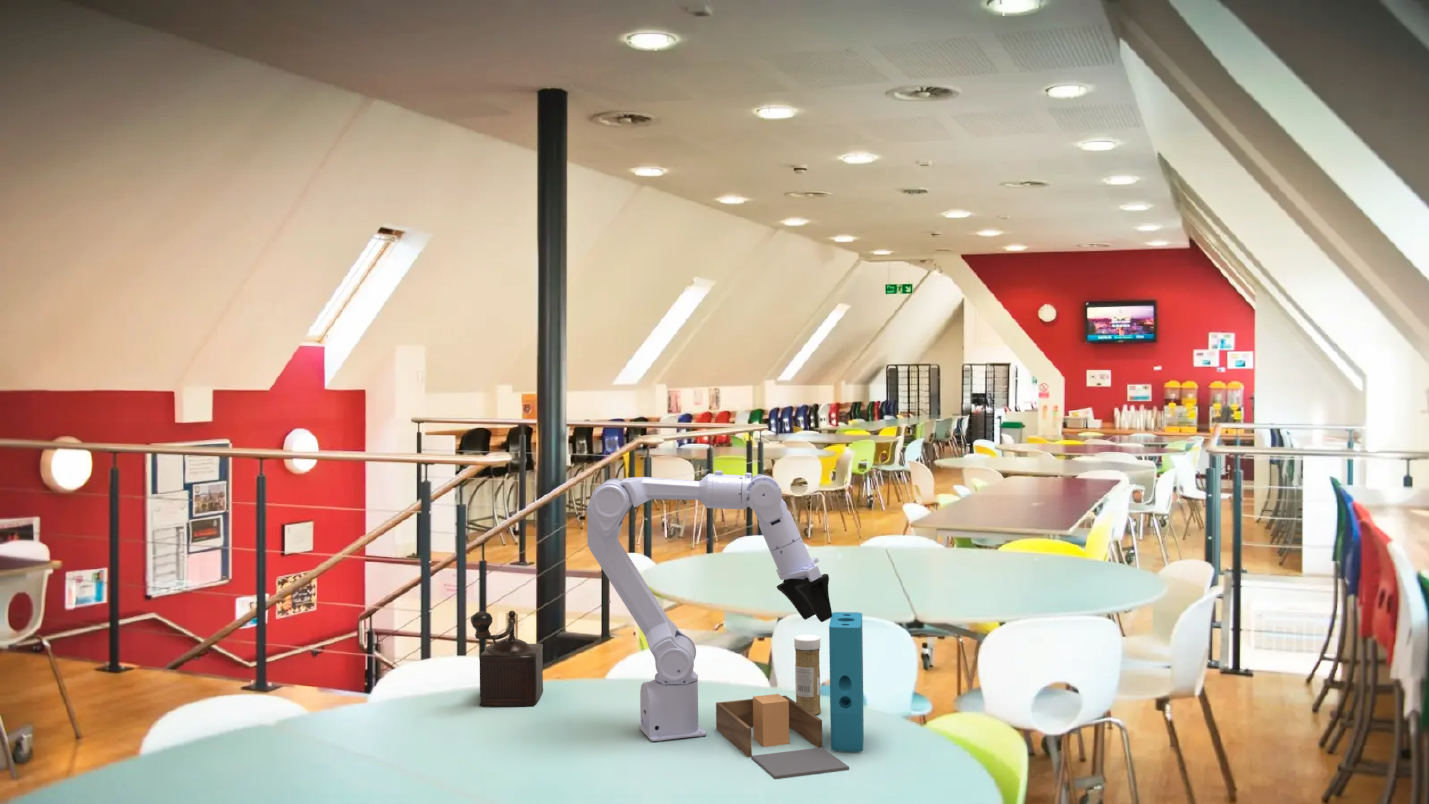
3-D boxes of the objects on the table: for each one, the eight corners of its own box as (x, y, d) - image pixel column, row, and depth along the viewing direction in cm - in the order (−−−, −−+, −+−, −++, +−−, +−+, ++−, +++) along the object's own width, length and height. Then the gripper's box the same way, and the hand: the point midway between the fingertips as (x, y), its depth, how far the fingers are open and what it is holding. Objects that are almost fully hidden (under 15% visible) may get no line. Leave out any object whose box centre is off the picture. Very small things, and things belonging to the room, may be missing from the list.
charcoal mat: (774, 778, 172) (774, 776, 172) (751, 758, 182) (751, 755, 182) (849, 769, 176) (849, 766, 176) (822, 749, 186) (822, 747, 186)
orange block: (763, 747, 187) (762, 703, 187) (753, 739, 192) (752, 696, 192) (789, 744, 189) (788, 700, 189) (778, 736, 193) (778, 693, 193)
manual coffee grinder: (486, 692, 223) (485, 598, 222) (544, 691, 222) (543, 597, 222) (468, 715, 207) (467, 614, 207) (531, 715, 207) (529, 613, 207)
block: (862, 755, 183) (861, 627, 182) (830, 754, 183) (828, 627, 183) (863, 732, 195) (862, 612, 194) (833, 731, 195) (832, 612, 195)
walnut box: (747, 757, 182) (747, 728, 182) (716, 729, 197) (715, 702, 197) (822, 748, 186) (822, 720, 186) (785, 721, 201) (785, 695, 201)
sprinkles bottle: (826, 712, 206) (825, 636, 206) (809, 717, 203) (808, 640, 203) (806, 707, 210) (806, 632, 209) (789, 712, 207) (788, 636, 206)
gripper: (822, 532, 189) (855, 609, 189) (790, 534, 203) (821, 605, 203) (785, 551, 187) (819, 629, 187) (755, 551, 201) (787, 623, 201)
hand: (818, 618), depth 195 cm, fingers open, 7 cm apart
